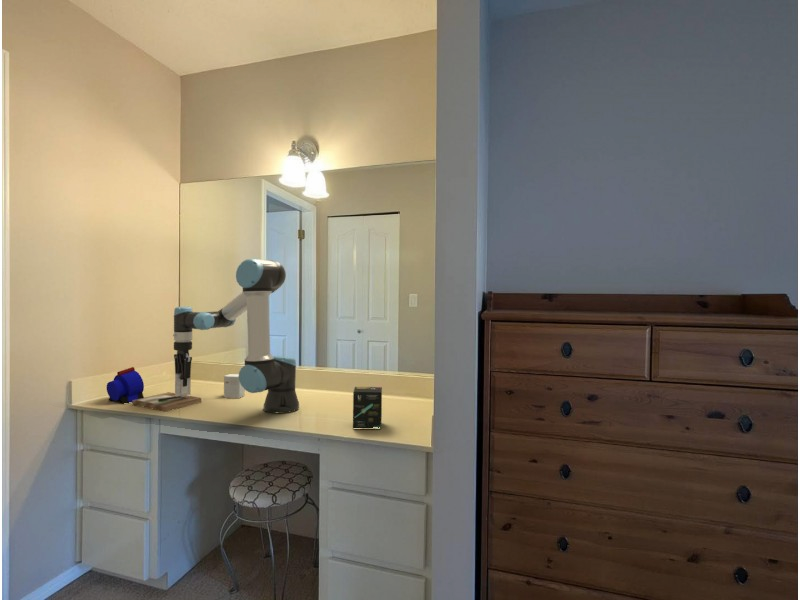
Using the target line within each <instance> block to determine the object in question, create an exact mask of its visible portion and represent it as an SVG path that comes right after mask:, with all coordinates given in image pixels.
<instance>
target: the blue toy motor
mask: <svg viewBox="0 0 800 600" xmlns="http://www.w3.org/2000/svg"><path fill="white" fill-rule="evenodd" d="M116 373H117V374H116V375H115V376H114V378H113V380H110V381H108V382H107V384H106V392H107V395H108V397H109V398H108V401H109V400H110V401H114V402H115V401H116V402H117V401H120V403H122V404H123V405H125V404H124V403H128V404H130V403H129V402H132V400H136V399H141V398H145V396H144V394H143V392H144V389H145V386H144V385H145V384H144V380H143V378H142V376H141V375H140V373H139V372H138V371H136V369H135V367H134V366H131V367H129V368H125V369H123V370H120V371H117V372H116Z"/></svg>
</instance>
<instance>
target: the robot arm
mask: <svg viewBox="0 0 800 600" xmlns="http://www.w3.org/2000/svg"><path fill="white" fill-rule="evenodd" d="M286 273H287V272H286V270H285V267H284V266H283V265H282V264H281V263H280V262H278V261H276V260H269V259H268V260H267V259H261V258H248V259H247V258H246V259H244V260H243V261H241V263H240V264H239V265H238V266H237V269H236V272H235V279H236V282H237V284H238V285H239V287H241V288H242V292H240V293H239V294H238V295H237V296H236V297H234V298H233V299H232V300H231V301H229V302H228V303H227V304H225V305H224V306H223V307H222V308H220V309H218V310H217V311H199V312H198V311H194V310H193V308H192V307H190V306H176V307H175V308H174V309H173V310H174V313H173V334H172V336H173V341H174V342H173V350H174V351H176V354H173V358H174V375H175V374H177V373H182V378H180V380H181V394H184V393H187V379H188V378H190V373H191V371H192V370H191V369H192V361H193V357H192V356H190V350H193V341H192V340H193V330H200V331H205V330H207V331H209V330H210V329H217V328H228V327H232V326H233V325H234V324H235V322H236V319H237V318H238V317H240V316H241V315H242V314H243V313H244V312H246V316H247V319H246V321H247V323H246V324H247V349H248V350H247V354H248V355H247V356H246V357H245V358H244V366H242V367H241V368H240V370H239V372H238V374H239V381H240V384H241V386H242V387H244V389H245V391H246V392H248V393H250V394H256V393H262V392H265V391H267V393H266V397H265V400H264V402H263V411H264V412H266V411H267V412H266V413H269V412H288V413H290V412H289V411H293V412H295V411H294V410H296V411H298V410H299V409H300V402H299V399H298V396H297V392H296V373H297V372H296V371H297V370H296V369H297V365H296V359H295V357H291V356H284V355H283V356H282V355H281V356H280V355H279V356H278V355H272V354H271V340H270V339H271V337H270V335H271V334H270V301H269V298H270V297H269V296H270V295H271V294H273V293H275V292H276V291H277V290H279V289H280V288H281V287H282V285H283V284H284V283H285V281H286V277H287V274H286ZM298 408H299V409H298ZM297 409H298V410H297Z"/></svg>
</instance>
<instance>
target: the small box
mask: <svg viewBox="0 0 800 600" xmlns="http://www.w3.org/2000/svg"><path fill="white" fill-rule="evenodd" d="M245 391H246V390H245V389H244V387H242V386H241V384H240V381H239V373H236V374H235V373H229V374H226V375H224V376H223V397H224V398H226V399H240V397H241V398H242V396H243V397H245V396H246V395H245V394H246V393H245Z"/></svg>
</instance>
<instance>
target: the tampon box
mask: <svg viewBox="0 0 800 600" xmlns="http://www.w3.org/2000/svg"><path fill="white" fill-rule="evenodd" d="M382 393H383V388H382V386H355V387H354V389H353V395H352V396H353V398H352V399H353V401H352V403H353V404H352V429H353V428H373V427H378V428H379V427H381V428H382V415H383V412H382V410H383V408H382V405H383V395H382Z"/></svg>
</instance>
